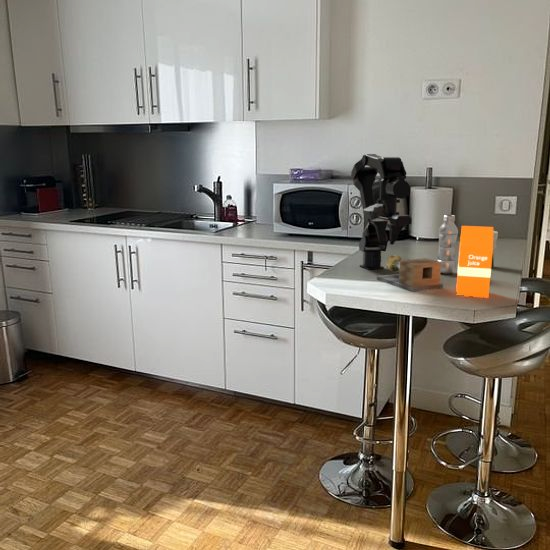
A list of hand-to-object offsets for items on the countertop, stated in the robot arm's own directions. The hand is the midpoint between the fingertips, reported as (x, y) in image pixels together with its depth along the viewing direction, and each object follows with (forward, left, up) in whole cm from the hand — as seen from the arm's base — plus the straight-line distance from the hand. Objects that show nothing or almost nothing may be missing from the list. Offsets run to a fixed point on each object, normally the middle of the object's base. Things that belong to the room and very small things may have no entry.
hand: (386, 243), depth 184 cm
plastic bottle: (+6, +21, -11) cm, 24 cm away
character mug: (+3, +42, -11) cm, 44 cm away
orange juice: (+31, +9, -11) cm, 34 cm away
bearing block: (+13, 0, -11) cm, 17 cm away
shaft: (+10, 0, -9) cm, 13 cm away
